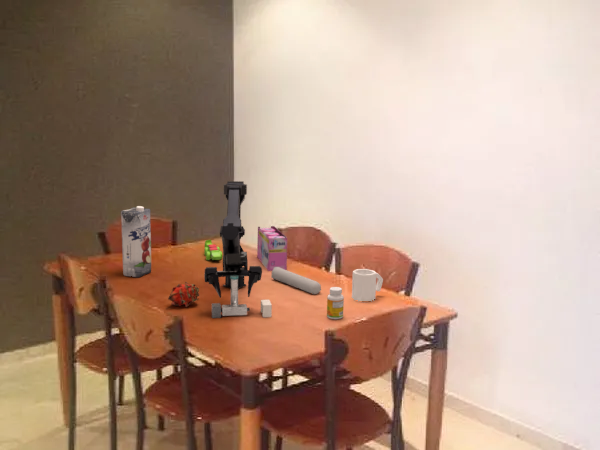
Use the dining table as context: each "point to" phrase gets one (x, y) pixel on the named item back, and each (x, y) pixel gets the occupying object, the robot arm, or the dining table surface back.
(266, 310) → the socket block
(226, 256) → the robot arm
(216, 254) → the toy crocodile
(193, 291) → the dragon fruit
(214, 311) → the rod stand
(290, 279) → the tube
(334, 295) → the supplement bottle
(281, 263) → the gum box
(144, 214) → the juice carton
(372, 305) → the dining table surface
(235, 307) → the tube
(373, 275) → the mug
